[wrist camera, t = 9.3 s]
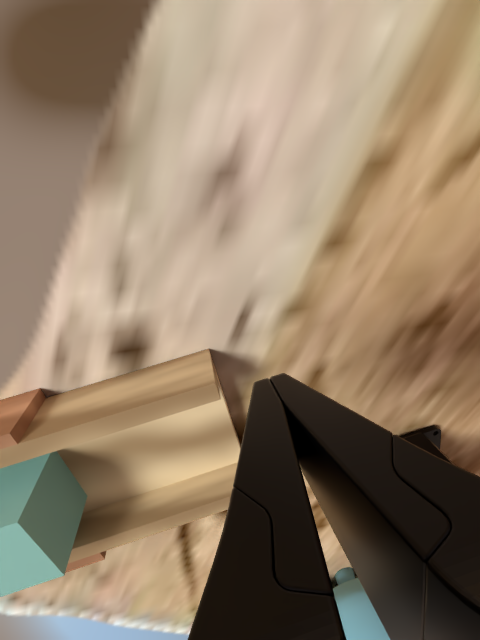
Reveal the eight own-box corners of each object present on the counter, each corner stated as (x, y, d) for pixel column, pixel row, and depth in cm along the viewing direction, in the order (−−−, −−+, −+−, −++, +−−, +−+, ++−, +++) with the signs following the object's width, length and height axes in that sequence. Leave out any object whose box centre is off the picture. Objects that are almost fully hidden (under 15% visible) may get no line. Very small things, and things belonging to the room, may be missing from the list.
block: (87, 496, 22) (64, 575, 18) (17, 518, 22) (-25, 605, 17) (53, 446, 20) (17, 522, 16) (-25, 471, 20) (-86, 555, 15)
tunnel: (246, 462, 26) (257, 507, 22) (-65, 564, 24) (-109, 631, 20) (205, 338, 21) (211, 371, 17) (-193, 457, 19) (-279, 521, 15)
